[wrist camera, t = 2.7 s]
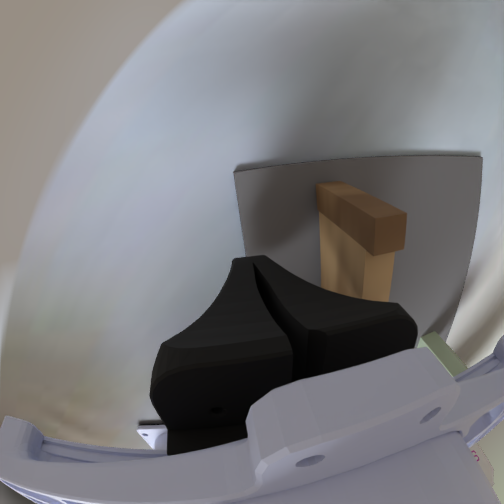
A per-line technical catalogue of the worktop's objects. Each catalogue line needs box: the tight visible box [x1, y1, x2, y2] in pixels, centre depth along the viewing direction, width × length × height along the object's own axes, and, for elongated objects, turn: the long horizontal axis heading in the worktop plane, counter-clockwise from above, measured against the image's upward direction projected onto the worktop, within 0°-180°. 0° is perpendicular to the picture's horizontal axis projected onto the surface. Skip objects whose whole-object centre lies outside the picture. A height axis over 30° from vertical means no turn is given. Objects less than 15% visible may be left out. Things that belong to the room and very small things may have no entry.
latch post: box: [417, 331, 468, 377], centre depth 16 cm, size 2×2×6 cm
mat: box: [233, 155, 483, 348], centre depth 16 cm, size 16×16×1 cm
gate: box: [316, 181, 407, 302], centre depth 12 cm, size 10×1×5 cm, turn 7°
